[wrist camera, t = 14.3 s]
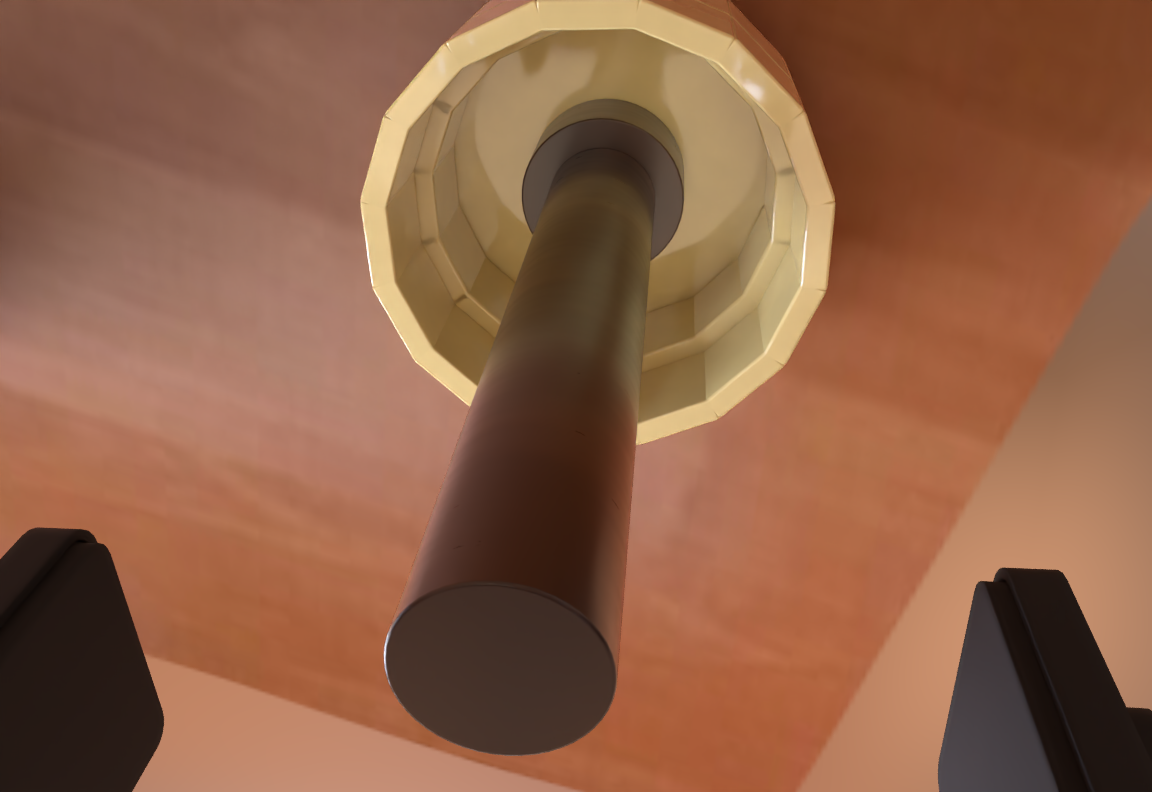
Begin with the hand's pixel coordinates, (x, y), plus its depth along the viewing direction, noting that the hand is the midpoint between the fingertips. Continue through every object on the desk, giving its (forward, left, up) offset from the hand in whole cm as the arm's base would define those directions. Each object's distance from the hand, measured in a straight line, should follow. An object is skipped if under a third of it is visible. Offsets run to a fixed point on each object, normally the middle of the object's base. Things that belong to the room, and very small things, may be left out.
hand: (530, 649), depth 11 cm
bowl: (0, 0, -19) cm, 19 cm away
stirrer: (0, 0, -18) cm, 18 cm away
